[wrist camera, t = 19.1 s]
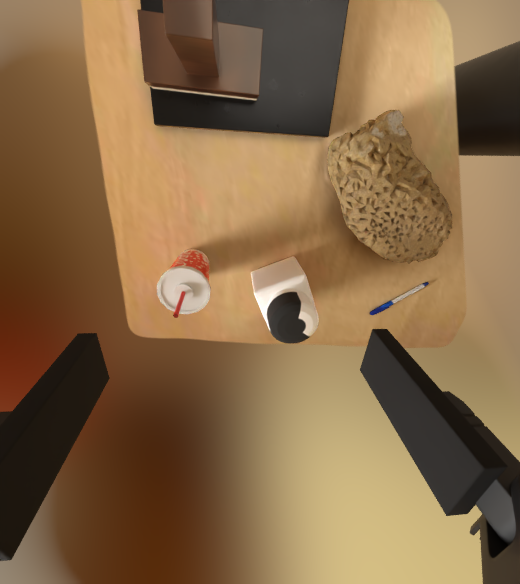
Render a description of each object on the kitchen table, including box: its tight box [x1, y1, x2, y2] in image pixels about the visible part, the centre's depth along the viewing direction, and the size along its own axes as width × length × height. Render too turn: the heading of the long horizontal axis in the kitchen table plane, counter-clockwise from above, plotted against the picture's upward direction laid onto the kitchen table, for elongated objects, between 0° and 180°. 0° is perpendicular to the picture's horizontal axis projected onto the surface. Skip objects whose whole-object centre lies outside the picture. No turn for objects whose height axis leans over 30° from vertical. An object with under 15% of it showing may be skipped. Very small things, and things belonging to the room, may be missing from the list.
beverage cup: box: [157, 249, 210, 318], centre depth 32 cm, size 6×6×14 cm
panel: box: [140, 0, 349, 137], centre depth 28 cm, size 20×12×2 cm, turn 87°
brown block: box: [138, 0, 263, 101], centre depth 22 cm, size 11×5×12 cm, turn 85°
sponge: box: [327, 110, 452, 263], centre depth 34 cm, size 13×8×20 cm
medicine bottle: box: [251, 256, 319, 343], centre depth 36 cm, size 7×7×12 cm
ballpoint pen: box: [370, 282, 429, 315], centre depth 45 cm, size 10×1×1 cm, turn 124°
